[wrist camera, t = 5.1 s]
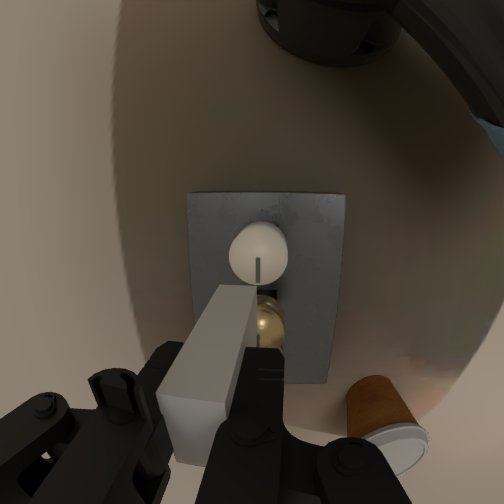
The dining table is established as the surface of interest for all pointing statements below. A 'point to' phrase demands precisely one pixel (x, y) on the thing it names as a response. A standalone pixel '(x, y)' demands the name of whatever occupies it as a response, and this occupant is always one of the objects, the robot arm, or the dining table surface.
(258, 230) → the knob
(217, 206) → the mount panel
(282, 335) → the brass pot knob
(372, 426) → the disposable coffee cup
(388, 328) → the dining table surface
